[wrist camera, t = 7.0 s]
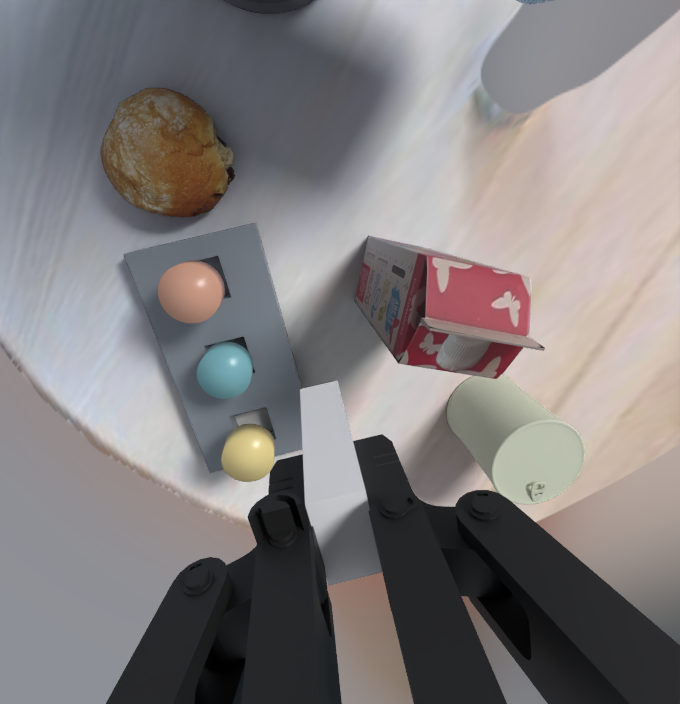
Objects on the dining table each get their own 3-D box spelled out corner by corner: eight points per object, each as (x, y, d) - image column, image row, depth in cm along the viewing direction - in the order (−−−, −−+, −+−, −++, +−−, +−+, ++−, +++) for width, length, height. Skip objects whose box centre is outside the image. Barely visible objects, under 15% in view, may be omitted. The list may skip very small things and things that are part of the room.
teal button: (199, 342, 41) (189, 357, 37) (247, 330, 41) (242, 344, 37) (215, 385, 43) (206, 404, 38) (260, 373, 43) (257, 391, 39)
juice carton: (414, 311, 44) (524, 402, 24) (354, 300, 43) (414, 385, 22) (431, 249, 42) (567, 288, 22) (368, 235, 41) (448, 263, 20)
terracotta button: (164, 264, 36) (148, 271, 32) (218, 251, 37) (209, 257, 32) (183, 316, 38) (170, 329, 34) (234, 303, 38) (228, 315, 34)
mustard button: (221, 421, 42) (214, 444, 38) (268, 409, 42) (265, 431, 38) (236, 460, 44) (230, 487, 39) (280, 448, 44) (279, 474, 39)
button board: (131, 252, 39) (123, 254, 37) (256, 222, 39) (254, 223, 38) (213, 462, 47) (209, 472, 45) (315, 436, 48) (316, 445, 46)
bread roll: (170, 94, 39) (98, 44, 31) (260, 138, 37) (208, 97, 29) (135, 196, 41) (61, 173, 33) (218, 242, 39) (160, 229, 31)
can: (447, 448, 50) (493, 517, 39) (444, 378, 47) (493, 432, 36) (520, 435, 51) (585, 499, 40) (522, 365, 48) (593, 414, 37)
